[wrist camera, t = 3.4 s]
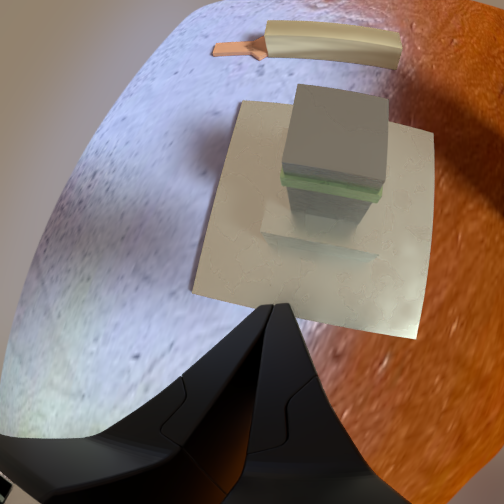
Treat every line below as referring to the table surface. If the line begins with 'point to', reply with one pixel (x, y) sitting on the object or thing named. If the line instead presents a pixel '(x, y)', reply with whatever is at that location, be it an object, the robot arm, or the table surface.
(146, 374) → the table surface
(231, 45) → the arrow marker
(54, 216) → the table surface
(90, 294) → the table surface
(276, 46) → the block
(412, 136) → the stacked slab tower
